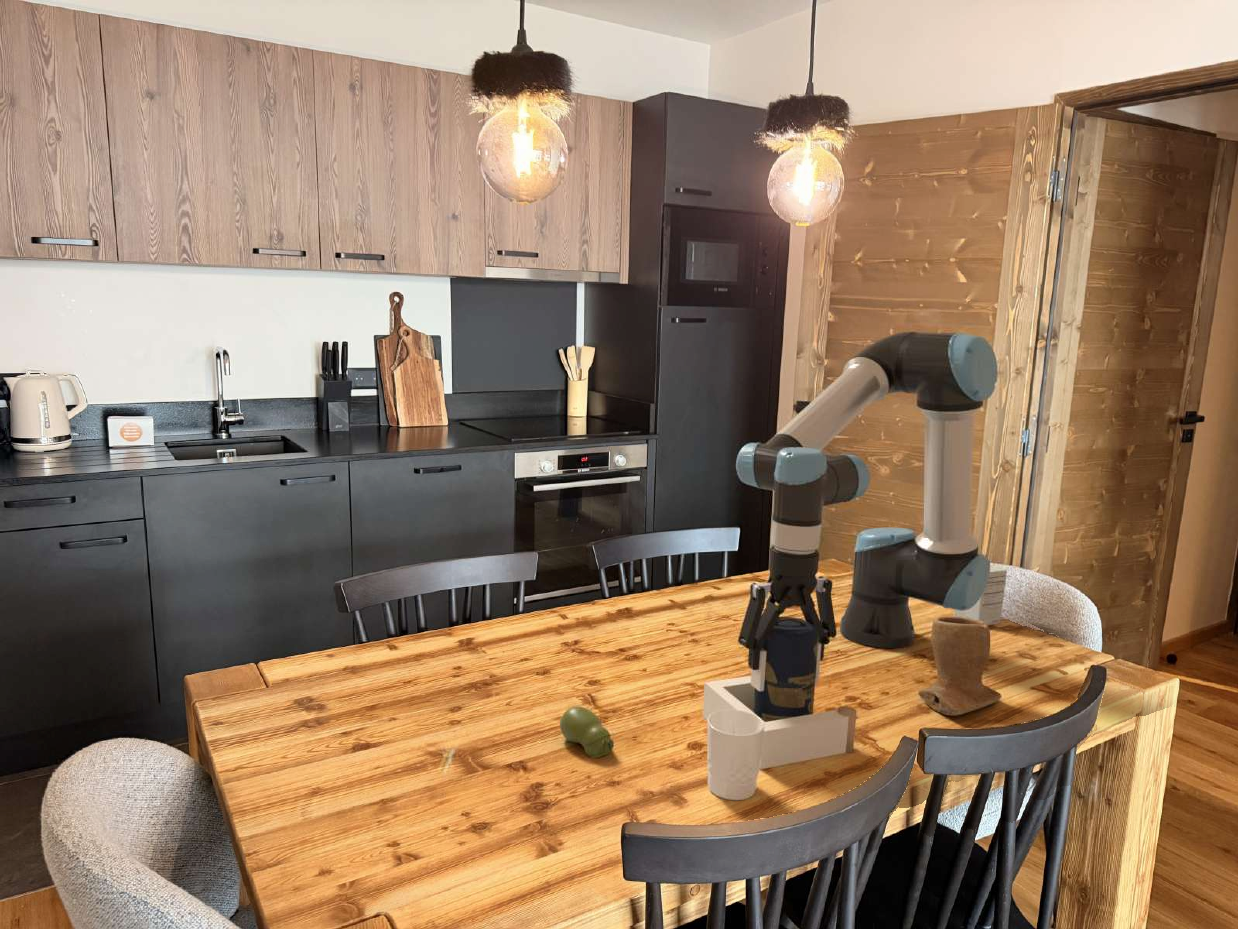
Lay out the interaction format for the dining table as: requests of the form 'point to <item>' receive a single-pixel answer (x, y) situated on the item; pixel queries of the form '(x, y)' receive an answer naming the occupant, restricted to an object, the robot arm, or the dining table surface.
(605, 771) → the dining table surface
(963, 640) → the stone cup
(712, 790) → the white cup
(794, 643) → the canister
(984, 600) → the supplement box
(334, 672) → the dining table surface
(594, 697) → the dining table surface
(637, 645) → the dining table surface
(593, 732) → the pear
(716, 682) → the bracket
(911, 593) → the robot arm
